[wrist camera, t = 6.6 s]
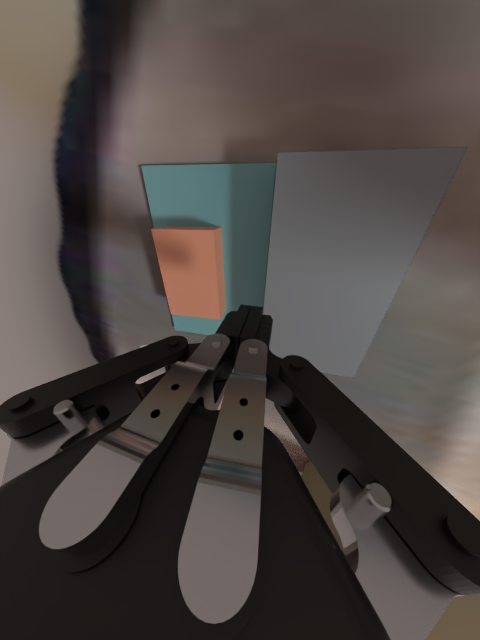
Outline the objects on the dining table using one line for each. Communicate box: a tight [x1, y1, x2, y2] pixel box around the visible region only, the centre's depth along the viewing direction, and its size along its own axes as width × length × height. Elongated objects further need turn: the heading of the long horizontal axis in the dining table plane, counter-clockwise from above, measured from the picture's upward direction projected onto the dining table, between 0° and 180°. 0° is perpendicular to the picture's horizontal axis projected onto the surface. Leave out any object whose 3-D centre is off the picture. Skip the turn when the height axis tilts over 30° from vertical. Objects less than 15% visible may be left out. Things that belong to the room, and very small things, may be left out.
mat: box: [141, 163, 276, 335], centre depth 21 cm, size 12×18×1 cm, turn 179°
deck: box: [263, 147, 467, 378], centre depth 17 cm, size 10×18×4 cm, turn 179°
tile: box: [151, 226, 226, 320], centre depth 20 cm, size 6×9×2 cm, turn 0°
